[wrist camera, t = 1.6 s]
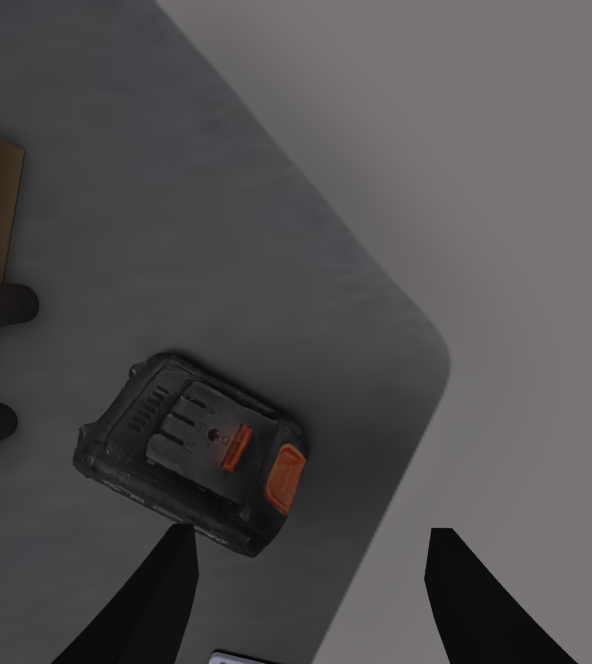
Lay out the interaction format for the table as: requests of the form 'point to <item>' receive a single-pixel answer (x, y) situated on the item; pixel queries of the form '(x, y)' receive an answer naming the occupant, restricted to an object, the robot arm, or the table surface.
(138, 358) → the table surface
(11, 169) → the bar
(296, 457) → the battery
